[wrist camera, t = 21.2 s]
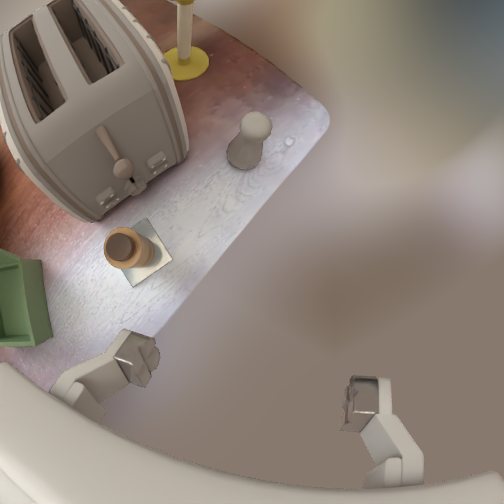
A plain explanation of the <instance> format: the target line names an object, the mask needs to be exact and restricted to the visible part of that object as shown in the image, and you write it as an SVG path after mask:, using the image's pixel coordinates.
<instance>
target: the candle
mask: <svg viewBox="0 0 504 504" xmlns="http://www.w3.org/2000/svg"><path fill="white" fill-rule="evenodd" d="M172 1H178V4H177V47H176V48H173V49H171V50H169V51H168V52H166V53H165V54H164V58H165V59H166V60H167V61H168V63H169V65H170V67H171V75H172V78H173V80H176V81H187V80H191V79H194V78H197V77H199V76H200V75H201V74H203V73H204V72H205V71H206V69H207V67H208V66H209V58H208V56H207V55H206V53H205V52H204V51H202V50H201V49H199V48H197V47H193V46H191V32H192V16H193V2H194V0H172Z"/></svg>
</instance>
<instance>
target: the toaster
mask: <svg viewBox="0 0 504 504" xmlns="http://www.w3.org/2000/svg"><path fill="white" fill-rule="evenodd" d="M0 124H1V128H2V131H3V137H4V141H5V143H7V144H8V147H9V149H10V151H11V153H12V155H13V158H14V159H15V162H16V164H17V166H18V168H19V169H20V170H21V171H22V172H23V173H25V174H26V175H27V176H28V177H29V178H30V180H31V181H32V182H33V183H34V184H35V185H36V186H37V187H38V188H39V189H40V190H41V191H42V192H43V193H44V194H46V195H47V196H48V197H49V198H50V199H51V200H52V201H53V202H54V203H56V204H57V205H58V206H59V207H61V208H62V209H63V210H65V211H66V212H67V213H69V214H70V215H72V216H73V217H75V218H77V219H79V220H81V221H83V222H91V223H93V222H95V221H100V220H101V219H102V218H103V216H104V213H106V212H107V211H108V210H110V209H111V208H112V207H114V206H115V205H116V204H118V203H119V202H120V201H122V200H123V199H124V198H126V197H127V196H128V195H130V194H131V195H132V196H136V195H138V194H139V193H141V192H142V191H143V190H144V189H145V188H146V186H147V184H146V183H147V182H148V181H150V180H151V179H153V178H154V177H156V176H157V175H159V174H160V173H162V172H163V171H165V170H166V169H168V168H169V167H171V166H172V165H174V164H175V165H179V164H181V163H182V162H183V160H184V158H185V157H187V152H188V150H189V139H188V133H187V127H186V123H185V119H184V114H183V111H182V107H181V104H180V100H179V97H178V94H177V90H176V87H175V84H174V81H173V78H172V75H171V67H170V65H169V63H168V61H167V60H166V59H165V58H164V55H163V54H162V52H161V51H160V49H159V48H158V46H157V45H156V43H155V39H154V38H153V37H152V36H151V35H149V34H148V32H147V31H146V30H145V29H144V28H143V27H142V23H141V22H140V21H139V20H137V19H136V18H135V17H134V16H133V15H132V14H131V11H130V10H129V9H128V8H127V7H126V6H125V7H124V6H123V5H122V4H121V2H120V1H119V0H52V1H50V2H49V3H47V4H45V5H44V6H42V7H41V8H39V9H38V10H36V11H34V12H33V13H31V14H30V15H29V16H27V17H26V18H24V19H23V20H21V21H20V22H19V23H17V24H16V25H15V26H13V27H12V28H11V29H9V30H8V31H7V32H6V33H4V34H2V35H0Z"/></svg>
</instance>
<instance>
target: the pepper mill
mask: <svg viewBox="0 0 504 504" xmlns="http://www.w3.org/2000/svg"><path fill="white" fill-rule="evenodd" d="M104 254H105V257H106V259H107V261H108V262H109V263H110V264H111V265H112V266H114V267H116V268H119V269H131V268H143V267H146V266H148V265H149V264H150V263H151V262H152V260H153V258H154V254H155V250H154V246H153V244H152V242H151V241H150V240H149V239H147V238H146V237H144V236H142V235H141V234H139V233H137V232H135V231H134V230H132V229H130V228H126V227H121V228H117V229H115V230H113V231H112V232H110V234H109V235H108V236H107V238H106V240H105V243H104Z"/></svg>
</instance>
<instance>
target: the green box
mask: <svg viewBox="0 0 504 504" xmlns="http://www.w3.org/2000/svg"><path fill="white" fill-rule="evenodd" d="M52 337H53V333H52V329H51V324H50V319H49V314H48V309H47V303H46V297H45V290H44V283H43V275H42V267H41V260H31V259H20V261H18V262H13V263H8V264H2V265H0V346H2V347H17V346H37V345H39V344H41V343H43V342H45V341H47V340H48V339H50V338H52Z"/></svg>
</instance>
